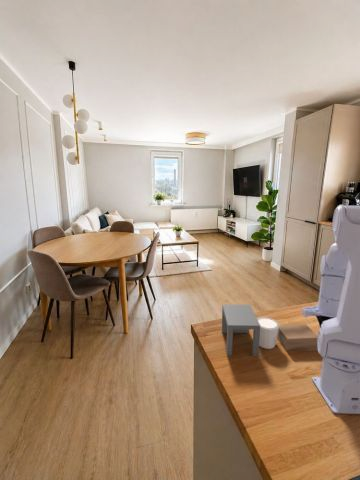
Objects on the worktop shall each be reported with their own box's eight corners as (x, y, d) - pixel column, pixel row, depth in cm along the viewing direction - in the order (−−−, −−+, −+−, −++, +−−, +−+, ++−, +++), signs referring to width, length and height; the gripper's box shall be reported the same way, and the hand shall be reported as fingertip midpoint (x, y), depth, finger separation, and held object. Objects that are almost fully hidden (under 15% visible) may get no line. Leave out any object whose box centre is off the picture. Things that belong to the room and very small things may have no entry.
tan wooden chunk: (317, 350, 70) (319, 337, 69) (286, 352, 69) (287, 338, 68) (304, 336, 77) (305, 324, 76) (275, 337, 76) (276, 325, 75)
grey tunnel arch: (258, 355, 68) (260, 325, 66) (227, 355, 68) (228, 325, 66) (248, 331, 79) (249, 304, 77) (221, 330, 80) (222, 304, 78)
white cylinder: (273, 336, 76) (275, 317, 75) (280, 350, 70) (282, 329, 68) (252, 335, 77) (253, 316, 76) (256, 349, 70) (258, 328, 69)
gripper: (346, 290, 73) (341, 329, 76) (299, 290, 73) (295, 328, 76) (363, 301, 66) (356, 343, 69) (310, 300, 66) (305, 342, 69)
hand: (324, 336), depth 72 cm, fingers closed
